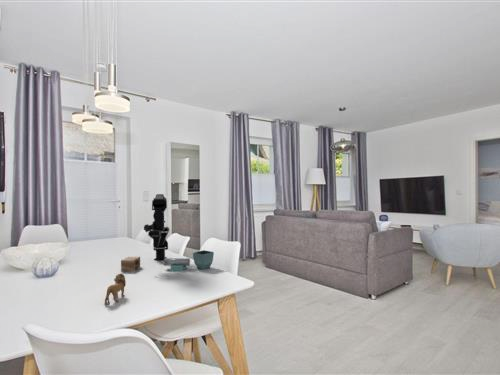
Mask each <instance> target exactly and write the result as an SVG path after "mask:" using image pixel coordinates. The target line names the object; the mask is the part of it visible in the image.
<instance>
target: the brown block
mask: <svg viewBox="0 0 500 375" xmlns="http://www.w3.org/2000/svg"><path fill="white" fill-rule="evenodd" d="M138 268H141V256H128V257H125V258H122V259H121V260H120V271H121V272H134V271H136V269H138Z"/></svg>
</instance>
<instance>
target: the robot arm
mask: <svg viewBox="0 0 500 375" xmlns="http://www.w3.org/2000/svg"><path fill="white" fill-rule="evenodd" d="M151 202H152V203H151V211H154V212H153V215H152V216H153V220H154V221H152V224H145V225H143V230H144V231H145V233H147V234H148V235H147V236H148V237H149V238H151V239H152V241H153V246H152V247H153V251H155V258H153V260H154V261H164V259H165V258H167V256H166V251H167V250H169V242H168V240H167V237H168V234H169V232H170V227H169V226H165V223H166V220H165V211H166V210H167V207H168V203H167V202H168V200H167V198H166V197H165V194H163V193H161V194H160V193H159V194H155V197H153V200H152V201H151Z"/></svg>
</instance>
